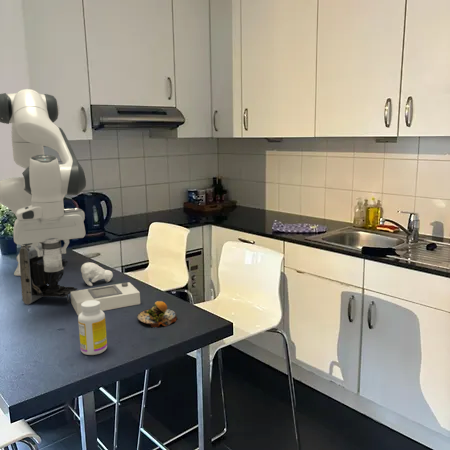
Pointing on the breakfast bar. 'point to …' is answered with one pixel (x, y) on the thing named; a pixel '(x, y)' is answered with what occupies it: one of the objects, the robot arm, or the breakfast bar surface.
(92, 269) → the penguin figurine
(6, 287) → the breakfast bar surface
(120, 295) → the camera body
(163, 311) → the burger
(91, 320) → the supplement bottle
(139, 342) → the breakfast bar surface
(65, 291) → the vintage camera
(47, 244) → the lens
